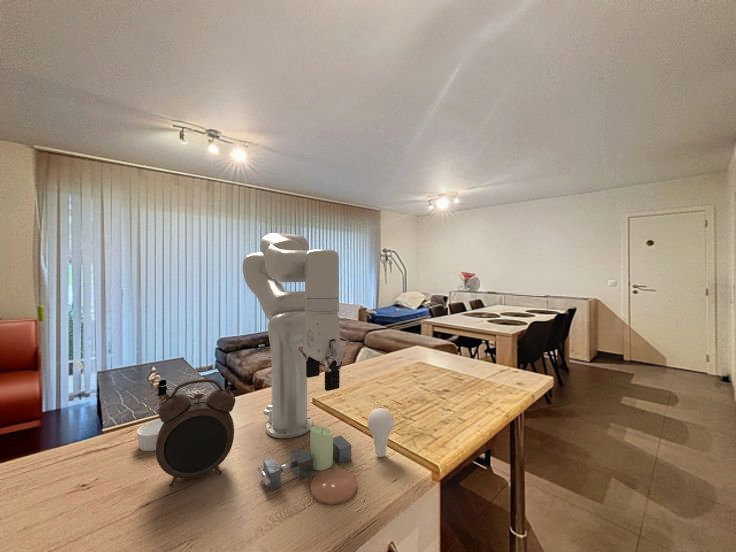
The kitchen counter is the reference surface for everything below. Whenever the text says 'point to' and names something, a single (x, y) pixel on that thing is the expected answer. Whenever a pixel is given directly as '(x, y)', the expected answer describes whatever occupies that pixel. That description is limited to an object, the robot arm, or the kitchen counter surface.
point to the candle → (321, 447)
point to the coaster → (334, 486)
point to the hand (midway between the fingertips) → (321, 382)
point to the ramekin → (149, 435)
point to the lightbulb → (380, 429)
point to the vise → (301, 463)
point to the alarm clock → (195, 432)
